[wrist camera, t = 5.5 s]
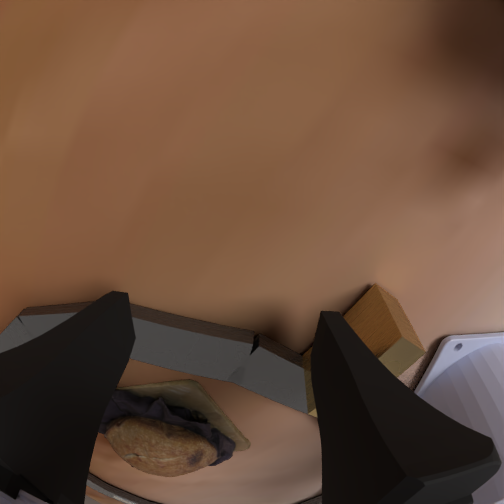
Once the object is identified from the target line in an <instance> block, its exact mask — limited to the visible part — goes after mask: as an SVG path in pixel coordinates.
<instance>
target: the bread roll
mask: <svg viewBox="0 0 504 504" xmlns="http://www.w3.org/2000/svg"><path fill="white" fill-rule="evenodd" d="M98 432H99V433H102V434H104V435H105V438H107V439H108V441H109V442H110V444H111V446H112V448H113V449H114V451H115V452H116V453H117V454H118V455H119V456H120V457H121V458H122V459H123V460H125V461H126V462H127V463H129V464H130V465H131V466H132V467H135V468H137V469H138V470H141V471H143V472H145V473H148V474H153V475H157V476H164V477H175V476H179V475H184V474H188V473H191V472H194V471H196V470H199V469H201V468H204V467H206V466H215V465H217V464H219V463H222V462H223V461H225V460H228V459H230V458H231V457H232V453H233V451H243V450H246V449H248V448H249V447H250V445H251V443H250V442H249V440H248V439H246V438H245V437H244V436H243V435H242V433H241V432H240V431H239V430H238V429H237V428H236V427H235V426H234V424H233V423H232V421H231V420H229V419H228V418H227V416H225V414H224V413H223V411H221V409H220V408H219V407H218V406H217V404H216V403H215V402H214V401H213V400H212V399H211V397H210V396H209V395H208V394H207V393H206V391H205V390H204V389H203V388H202V386H201V385H200V384H199V383H198V382H196V381H194V380H190V379H188V380H177V381H168V382H162V383H153V384H145V385H136V386H128V387H121V388H116V389H115V391H114V393H113V395H112V397H111V399H110V401H109V404H108V406H107V408H106V410H105V413H104V415H103V418H102V421H101V424H100V427H99V431H98Z"/></svg>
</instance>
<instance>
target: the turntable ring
mask: <svg viewBox="0 0 504 504" xmlns="http://www.w3.org/2000/svg"><path fill="white" fill-rule="evenodd" d="M93 302H95V301H92V302H82V303H72V304H61V305H50V306H39V307H27V308H26V309H24V310H23V311H22V312H21V313H20V314H19V315H18V316H17V317H16V318H15V319H14V320H13V321H12V322H11V323H10V324H9V325H8V326H7V328H6V329H5V330H4V331H3V332H2V333H1V334H0V353H2V352H4V351H7V350H10V349H12V348H15V347H17V346H19V345H22V344H24V343H26V342H28V341H30V340H32V339H34V338H36V337H38V336H40V335H42V334H44V333H45V332H47V331H49V330H51V329H52V328H54V327H55V326H57V325H59V324H60V323H62V322H64V321H65V320H67V319H69V318H70V317H72V316H73V315H75V314H76V313H78V312H80V311H81V310H83V309H84V308H86V307H87V306H89V305H90V304H92V303H93ZM130 309H131V314H132V320H133V325H134V331H135V336H136V339H135V343H134V346H133V349H132V352H131V355H130V358H131V359H134V360H138V361H141V362H145V363H149V364H152V365H156V366H160V367H164V368H168V369H172V370H176V371H180V372H185V373H189V374H193V375H198V376H203V377H207V378H212V379H217V380H222V381H228V382H233V383H235V384H237V385H240V386H242V387H244V388H246V389H248V390H251V391H253V392H255V393H257V394H260V395H262V396H264V397H267V398H269V399H271V400H274V401H276V402H278V403H281V404H283V405H286V406H288V407H291V408H293V409H296V410H298V411H301V412H303V413H306V414H309V415H311V416H314V417H317V412H316V406H315V400H314V394H313V388H312V382H311V361H310V355H311V351H312V347H313V346H312V347H311V348H310V349H309V350H308V351H307V352H306V353H305V354H304V355H300V354H298V353H296V352H294V351H292V350H290V349H288V348H287V347H285V346H283V345H281V344H279V343H277V342H275V341H273V340H271V339H270V338H268V337H266V336H264V335H262V334H259V335H258V336H257V337H256V338H255V339H254V340H253V338H254V331H250V330H245V329H240V328H235V327H230V326H225V325H220V324H215V323H210V322H206V321H201V320H196V319H192V318H187V317H183V316H179V315H174V314H170V313H166V312H162V311H158V310H154V309H150V308H146V307H142V306H138V305H134V304H130ZM343 318H344V319H345V320H346V321H347V323H348V324H349V325H350V326H351V328H352V329H353V330H354V331H355V333H356V334H357V335H358V336H359V338H360V339H361V340H362V341H363V342H364V343H365V345H366V346H367V347H368V348H369V349H370V350H371V352H372V353H373V354H374V355H375V356H376V357H377V358H378V359H379V360H380V361H381V362H382V363H383V364H384V365H385V367H386V368H387V369H388V370H389V371H390V372H391V373H392V374H393V375H395V376H396V377H398V376H399V375H401V374H402V373H403V372H404V371H405V370H407V369H408V368H409V367H410V366H411V365H412V364H414V363H415V362H416V361H417V360H418V359H419V358H420V357H421V356H423V355H424V354H425V353H426V352H425V350H424V348H423V346H422V344H421V342H420V340H419V338H418V336H417V334H416V333H415V331H414V329H413V327H412V325H411V323H410V321H409V320H408V318H407V316H406V314H405V312H404V310H403V309H402V307H401V305H400V303H399V302H398V300H397V299H396V298H395V297H393V296H392V295H391V294H389V293H388V292H387V291H385V290H384V289H383V288H381V287H380V286H379V285H377V284H376V283H375V284H374V285H373V286H372V287H371V288H370V289H369V290H368V291H367V292H366V294H365V295H364V296H363V297H362V298H361V299H360V300H359V301H358V302H357V303H356V304H355V305H354V306H353V307H352V308H351V309H350V310H349V311H348V312H347V313H346V314H345V315H344V316H343ZM86 485H87V486H89V487H91V488H92V489H94V490H98V492H100V493H102V494H104V495H107V496H109V497H111V498H114V499H116V500H118V501H121V502H123V503H126V504H157V503H153V502H149V501H147V500H144V499H141V498H139V497H136V496H134V495H131V494H129V493H126V492H124V491H122V490H119V489H117V488H115V487H112V486H110V485H108V484H106V483H104V482H103V481H101V480H99V479H98V478H96V477H94V476H93V475H91V474H90V473H88V478H87V484H86ZM301 504H322V495H321V496H319V497H316V498H314V499H311V500H309V501H306V502H303V503H301Z"/></svg>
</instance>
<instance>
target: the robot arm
mask: <svg viewBox="0 0 504 504" xmlns="http://www.w3.org/2000/svg"><path fill="white" fill-rule="evenodd" d="M135 339H136V336H135V331H134V325H133V320H132V314H131V309H130V303H129V297H128V293H124V292H117V291H112V292H110V293H108V294H106V295H104V296H103V297H101V298H100V299H98V300H96V301H95V302H93V303H92V304H90V305H89V306H87V307H86V308H84V309H83V310H81V311H80V312H78V313H76V314H75V315H73V316H72V317H70V318H69V319H67V320H65V321H64V322H62V323H60V324H59V325H57V326H55V327H54V328H52V329H51V330H49V331H47V332H45V333H44V334H42V335H40V336H38V337H36V338H34V339H32V340H30V341H28V342H26V343H24V344H22V345H19V346H17V347H15V348H12V349H10V350H7V351H4V352H2V353H0V504H48V503H49V504H84V500H85V492H86V484H87V478H88V472H89V467H90V462H91V457H92V453H93V449H94V445H95V441H96V438H97V434H98V431H99V427H100V424H101V421H102V418H103V415H104V413H105V410H106V408H107V406H108V404H109V401H110V399H111V397H112V395H113V393H114V391H115V389H116V387H117V384H118V382H119V380H120V378H121V376H122V374H123V372H124V370H125V368H126V365H127V363H128V361H129V358H130V355H131V352H132V349H133V346H134V343H135ZM310 361H311V382H312V388H313V394H314V400H315V406H316V412H317V418H318V424H319V430H320V437H321V447H322V504H504V332H499V333H486V334H470V335H451V336H448V337H446V338H444V339H443V340H442V342H441V343H440V345H439V347H438V349H437V351H436V353H435V355H434V357H433V359H432V361H431V363H430V365H429V366H428V368H427V370H426V372H425V374H424V375H423V377H422V379H421V381H420V383H419V384H418V386H417V388H416V389H415V391H414V392H413V391H412V390H410V389H409V388H408V387H407V386H406V385H405V384H403V383H402V382H401V381H400V380H399V379H398V378H397V377H396V376H395V375H393V374H392V373H391V372H390V371H389V370H388V369H387V368H386V367H385V365H384V364H383V363H382V362H381V361H380V360H379V359H378V358H377V357H376V356H375V355H374V354H373V353H372V352H371V350H370V349H369V348H368V347H367V346H366V345H365V343H364V342H363V341H362V340H361V339H360V338H359V336H358V335H357V334H356V333H355V331H354V330H353V329H352V328H351V326H350V325H349V324H348V323H347V321H346V320H345V319H344V318H343V316H342V315H341V314H340V313H339V312H333V311H321V313H320V317H319V322H318V326H317V330H316V334H315V339H314V343H313V347H312V351H311V355H310ZM46 502H47V503H46Z"/></svg>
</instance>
